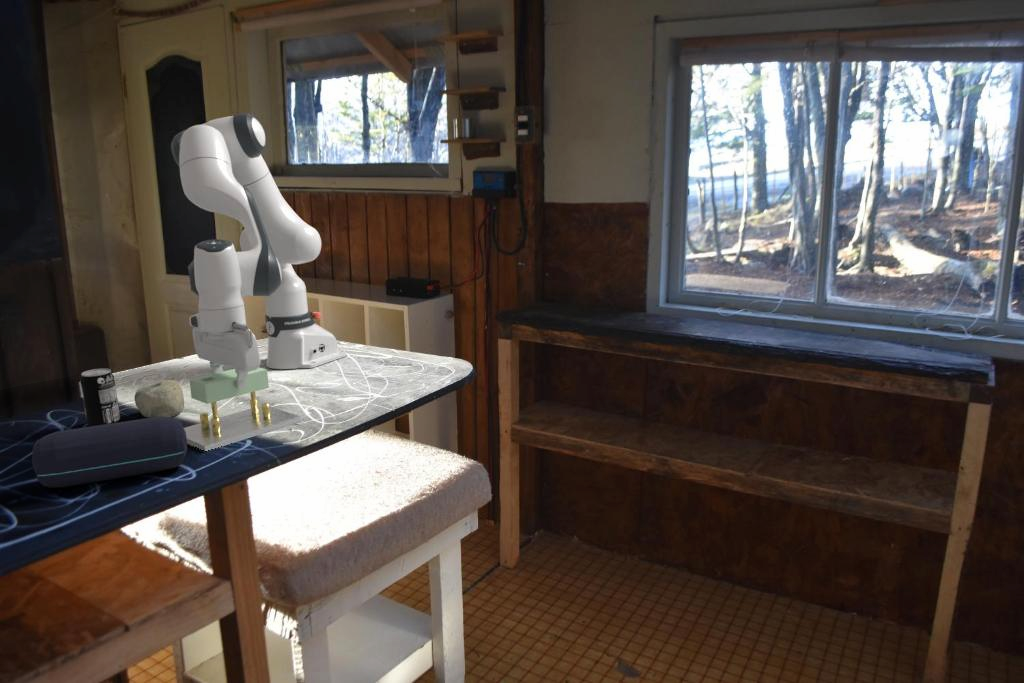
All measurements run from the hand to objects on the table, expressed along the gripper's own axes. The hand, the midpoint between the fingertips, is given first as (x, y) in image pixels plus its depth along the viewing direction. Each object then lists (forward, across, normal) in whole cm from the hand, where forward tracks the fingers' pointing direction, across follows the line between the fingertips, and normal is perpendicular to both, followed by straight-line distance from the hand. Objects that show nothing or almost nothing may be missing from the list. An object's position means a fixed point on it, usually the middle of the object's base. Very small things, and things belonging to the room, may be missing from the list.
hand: (230, 384), depth 166 cm
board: (+2, 0, 0) cm, 2 cm away
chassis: (+10, 0, 0) cm, 10 cm away
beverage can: (+10, +28, +16) cm, 34 cm away
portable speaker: (+10, -5, +27) cm, 29 cm away
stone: (+10, +24, +5) cm, 26 cm away
